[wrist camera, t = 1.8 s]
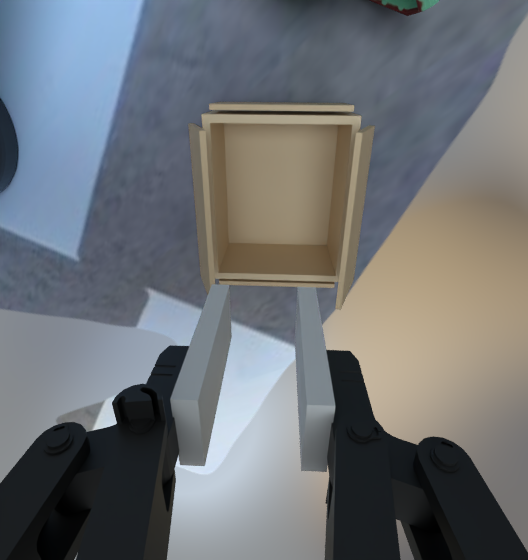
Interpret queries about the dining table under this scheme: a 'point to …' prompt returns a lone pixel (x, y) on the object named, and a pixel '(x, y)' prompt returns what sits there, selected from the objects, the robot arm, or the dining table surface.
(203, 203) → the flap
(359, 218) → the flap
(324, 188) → the carton
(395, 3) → the mug
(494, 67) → the dining table surface
